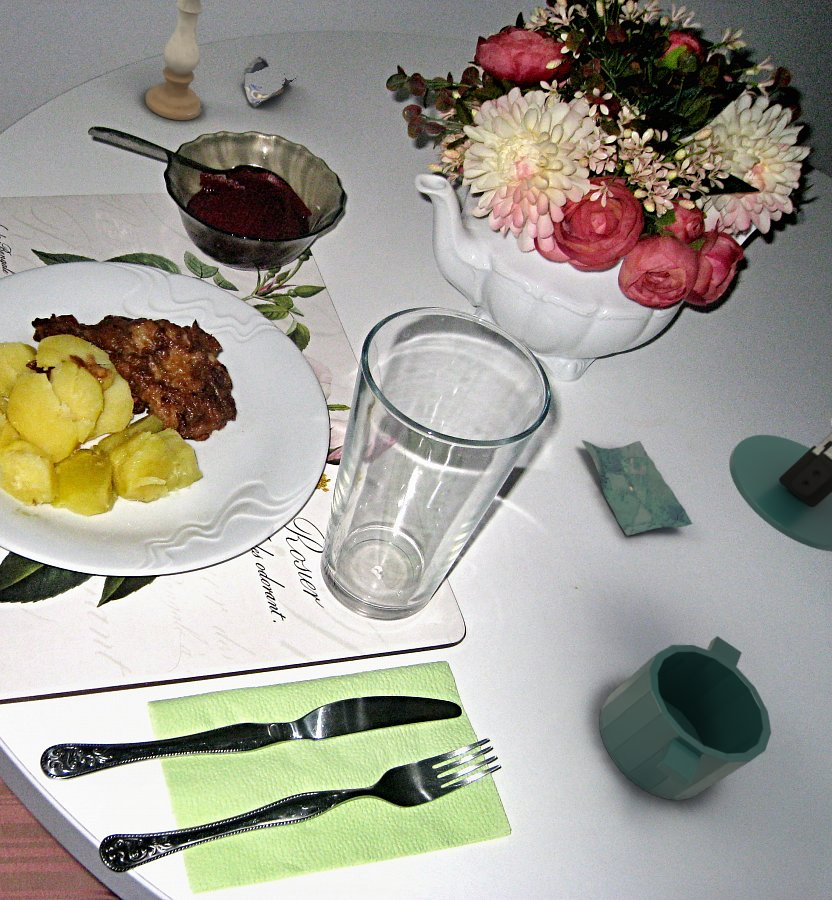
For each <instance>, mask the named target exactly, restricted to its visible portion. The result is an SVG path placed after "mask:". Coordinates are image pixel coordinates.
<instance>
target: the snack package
mask: <svg viewBox="0 0 832 900" xmlns="http://www.w3.org/2000/svg"><path fill="white" fill-rule="evenodd" d="M248 64H249V65H248ZM248 64H247V66H246V67H245V69H244V73H245V74H246V73H254V72H256V71H259V70H262V69H266V68H269V69H271V67H269V63H268V61H267V58H266V57H264V56H263V57H261V56H260V55H259V56H257V57H256V58H254V59H253V60H252V61H250V62H248ZM284 75H285V73H284ZM295 79H296V78H295ZM284 80H285V82H284V84H282V86H283V87H282V88H281V89H279V90H278V91H276V92H273V93H272V94H271V95H270V94H269V95H268V91H267V92H266V91H265V92H264V89H263V90H262V87H260V88H259V87H257V86H254V85H252V84H251V86H250V85H249V87H245V86H244V90H245V92H246V97H247V99H248V102H249V103H250V104H251V105H252V106H253V108H254V109H255V108H257V107H258V106H259V105H260V104H262V103H260V104H257V103H259V102H260V100H261V99H265V100H263V102H265V101H267V100H269V99H271V98H270V97H271V96H274V97H276V96H275V95H277V96H279V95H281V94H283V92H284V91H285V90H286V89H287V88H288V87H290V85H289V83H290V82H292V81H293V80H294V79H293V80H287V79H286V78H285V79H284ZM284 80H282V81H284ZM296 80H297V79H296ZM292 83H293V82H292ZM290 84H291V83H290ZM285 88H286V89H285ZM284 89H285V90H284ZM280 93H281V94H280ZM278 94H279V95H278ZM268 98H269V99H268ZM254 102H255V103H254Z"/></svg>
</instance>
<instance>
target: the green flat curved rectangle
mask: <svg viewBox="0 0 832 900" xmlns="http://www.w3.org/2000/svg"><path fill="white" fill-rule="evenodd" d="M581 442H582V444H583V445H584V448H585V449H586V451H587V452H588V454H589V455H590V457H591V458H592V460H593V463H594V465H595V468H596V471H597V474H598V477H599V481H600V484H601V489H602V493H603V496H604V498H605V500H606V501H607V503H608V504H609V506H610V508H611V510H612V512H613V513H614V516H615V519H616V521H617V523H618V524H619V526H620V527H621V529H622V531H623V532H624V534H625V535H626V536H633V535H636V534H639V533H642V532H647V531H650V530H655V529H659V528H682V527H687V526H690V525H693V522H692V520H691V519H690V517H689V515H688V513H687V512H686V509H685V508H684V507H683V505H682V503H680V501H679V499H678V498H677V497H676V494H675V493H674V491H673V490H672V488H671V487H670V486H669V485H668V484H667V482H666V481H665V479H664V477H663V476H662V473H661V472H660V470H658V468H657V466H656V464H655V462H654V460H652V458H651V457H650V456H649V455H648V453H647V451H646V449H645V447H644V445H643V444H642V441H640V440H638V441H633V442H631V443H629V444H625V445H622V446H619V447H618V446H617V447H614V448H605V447H600V446H598V445H595V444H593V443H591V442H589V441H587V440H585V439H584V440H583V439H581Z"/></svg>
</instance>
